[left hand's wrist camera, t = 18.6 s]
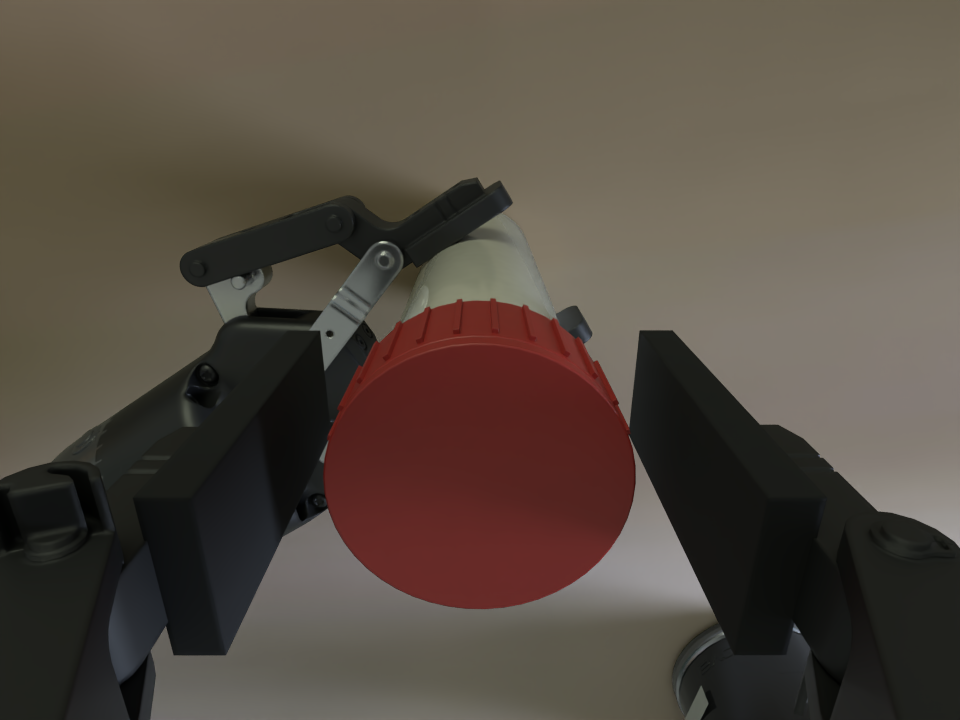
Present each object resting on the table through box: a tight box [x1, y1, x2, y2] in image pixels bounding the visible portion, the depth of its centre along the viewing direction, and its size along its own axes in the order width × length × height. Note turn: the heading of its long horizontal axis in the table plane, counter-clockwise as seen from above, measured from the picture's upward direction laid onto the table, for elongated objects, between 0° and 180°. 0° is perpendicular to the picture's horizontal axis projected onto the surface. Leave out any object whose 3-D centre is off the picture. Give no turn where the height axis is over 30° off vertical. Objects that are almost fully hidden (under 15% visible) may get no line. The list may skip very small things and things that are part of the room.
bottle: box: [400, 213, 561, 326], centre depth 19 cm, size 5×5×18 cm
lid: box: [323, 298, 636, 609], centre depth 11 cm, size 5×6×2 cm
